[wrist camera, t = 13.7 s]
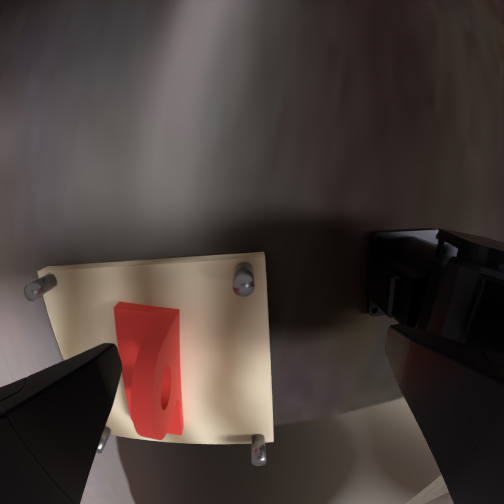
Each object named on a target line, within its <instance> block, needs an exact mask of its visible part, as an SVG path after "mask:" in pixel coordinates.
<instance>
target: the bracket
mask: <svg viewBox="0 0 504 504" xmlns="http://www.w3.org/2000/svg"><path fill="white" fill-rule="evenodd" d="M114 318H115V327H116V336H117V344H118V351H119V355H120V359H121V362H122V367H123V369H122V377H123V382H124V388H125V393H126V398H127V403H128V408H129V412H130V417H131V420H132V422H133V424H134V428H135V430H136V432H137V434H138V435H140V436H142V437H146V438H151V439H156V440H162V439H163V438H164V437H165V436H166V434H167V433H169V434H175V435H182V433H183V428H184V423H183V408H182V390H181V367H180V309H173V308H165V307H157V306H149V305H142V304H135V303H128V302H121V301H119V302H118V303H117V304H116V305H115V306H114Z"/></svg>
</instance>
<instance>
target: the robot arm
mask: <svg viewBox="0 0 504 504" xmlns="http://www.w3.org/2000/svg"><path fill="white" fill-rule="evenodd" d="M436 234H437V237H436ZM378 236H379V237H380V240H379V241H378V242H376V238H377V237H378ZM366 295H367V296H368V305H367V312H368V313H369V314H370V315H371V316H380V315H387V316H388V317H389V318H394V319H395V320H396V321H397V322H398V323H399V324H396V325H391V326H390V327H389V328H388V332H387V339H386V345H385V352H386V355H387V358H388V360H389V363H390V365H391V368H392V370H393V373H394V375H395V378H396V381H397V383H398V386H399V388H400V390H401V392H402V394H403V396H404V398H405V399H406V401H407V403H408V405H409V407H410V409H411V411H412V413H413V415H414V417H415V419H416V421H417V423H418V425H419V427H420V429H421V431H422V433H423V435H424V437H425V439H426V441H427V444H428V446H429V448H430V450H431V452H432V454H433V456H434V458H435V461H436V463H437V465H438V467H439V470H440V472H441V474H442V476H443V479H444V481H445V483H446V485H447V488H448V491H449V493H450V495H451V498H452V500H453V503H454V504H504V243H502V242H499V241H496V240H492V239H489V238H485V237H480V236H476V235H471V234H466V233H461V232H456V231H450V230H445V229H440V228H439V230H438V229H423V230H403V231H384V232H375V233H373V234H372V236H371V250H370V260H369V262H368V263H367V283H366ZM373 308H376V309H375V310H374V311H372V309H373ZM122 369H123V367H122V362H121V359H120V355H119V352H118V349H117V346H116V345H115V344H114V343H102V344H100V345H98V346H95V347H93V348H91V349H89V350H87V351H84V352H82V353H80V354H78V355H75V356H73V357H71V358H69V359H66V360H64V361H62V362H60V363H57V364H55V365H53V366H51V367H48V368H46V369H44V370H41V371H39V372H37V373H34V374H32V375H30V376H28V377H25V378H23V379H20V380H18V381H16V382H13V383H11V384H8V385H6V386H3V387H0V504H80V502H81V499H82V495H83V492H84V488H85V485H86V482H87V479H88V476H89V472H90V469H91V466H92V463H93V460H94V457H95V454H96V451H97V448H98V445H99V443H100V440H101V437H102V434H103V431H104V429H105V426H106V423H107V420H108V418H109V415H110V412H111V410H112V407H113V404H114V400H115V396H116V392H117V389H118V385H119V381H120V377H121V374H122Z"/></svg>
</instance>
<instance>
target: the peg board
mask: <svg viewBox="0 0 504 504" xmlns="http://www.w3.org/2000/svg"><path fill="white" fill-rule="evenodd" d="M37 272H38V276H39V279H38V280H36V281H34V282H32V283H30V284H29V285H27V286H25V288H24V294H25V296H26V298H27V299H28V300H29V301H34V300H36V299H37V298H39V297H40V296H42V295H43V297H44V300H45V304H46V308H47V311H48V315H49V318H50V321H51V324H52V328H53V331H54V334H55V337H56V340H57V343H58V345H59V348H60V351H61V354H62V356H63V359H64V360H66V359H69V358H71V357H73V356H75V355H78V354H80V353H82V352H84V351H87V350H89V349H91V348H93V347H95V346H98V345H100V344H102V343H114V344H115V345H116V346H117V349H118V344H117V336H116V327H115V318H114V306H115V305H116V304H117V303H118V302H119V301H121V302H128V303H135V304H142V305H149V306H157V307H165V308H173V309H180V367H181V390H182V408H183V423H184V428H183V433H182V435H175V434H169V433H167V434H166V436H165V437H164V438H163V439H162V440H156V439H151V438H146V437H142V436H140V435H138V434H137V432H136V430H135V428H134V424H133V422H132V420H131V417H130V412H129V408H128V403H127V398H126V393H125V388H124V382H123V377H122V374H121V377H120V381H119V385H118V389H117V392H116V396H115V400H114V404H113V407H112V410H111V412H110V415H109V418H108V420H107V423H106V426H105V429H104V431H103V434H102V437H101V440H100V443H99V445H98V448H97V451H96V452H97V453H102V451H103V449H104V446H105V444H106V442H107V440H108V438H109V436H110V435H115V436H121V437H128V438H135V439H144V440H153V441H163V442H176V443H195V444H196V443H197V444H244V443H251V447H252V464H254V465H257V466H261V465H264V464H265V463H266V451H265V442H273V441H274V440H273V412H272V387H271V364H270V342H269V321H268V301H267V282H266V264H265V255H264V252H254V253H239V254H224V255H209V256H194V257H180V258H165V259H150V260H135V261H120V262H105V263H90V264H75V265H60V266H47V267H45V268H43V269H41V270H39V271H37ZM118 352H119V351H118Z"/></svg>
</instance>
